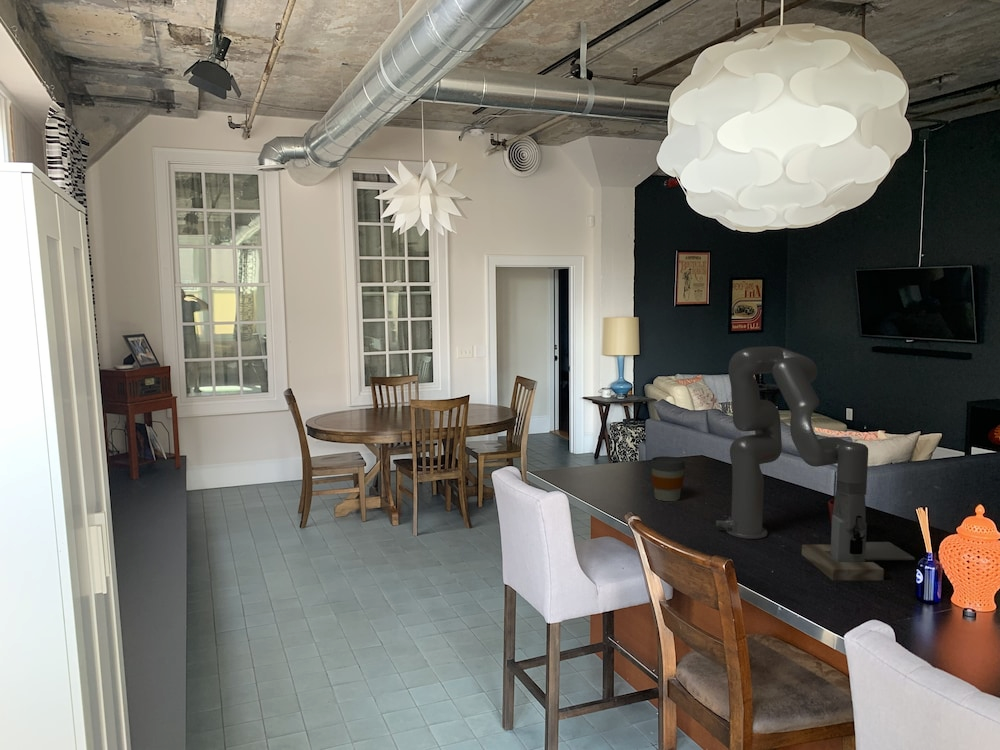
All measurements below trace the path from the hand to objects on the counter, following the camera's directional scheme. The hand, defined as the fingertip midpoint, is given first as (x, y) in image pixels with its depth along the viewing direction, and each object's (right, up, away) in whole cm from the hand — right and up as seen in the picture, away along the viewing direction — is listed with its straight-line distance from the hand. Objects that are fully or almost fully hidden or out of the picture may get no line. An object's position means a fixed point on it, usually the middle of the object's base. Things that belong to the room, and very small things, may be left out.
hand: (848, 548), depth 204 cm
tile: (+15, -4, +12) cm, 20 cm away
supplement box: (0, -4, 0) cm, 4 cm away
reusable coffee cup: (-35, +2, +71) cm, 79 cm away
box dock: (-2, -5, 0) cm, 6 cm away
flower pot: (+14, -2, +30) cm, 33 cm away
